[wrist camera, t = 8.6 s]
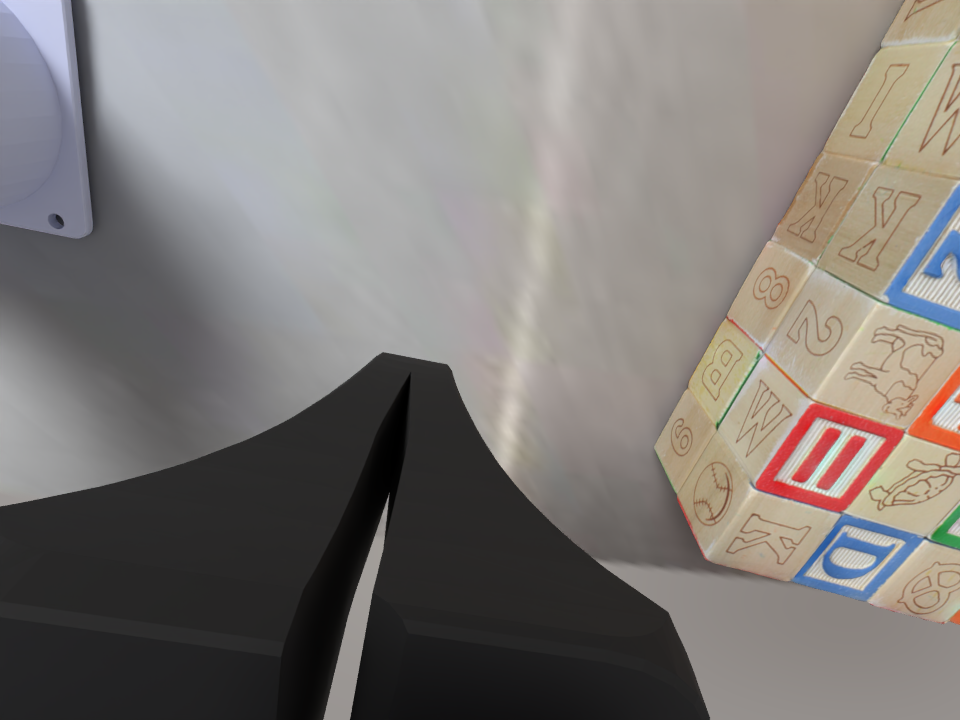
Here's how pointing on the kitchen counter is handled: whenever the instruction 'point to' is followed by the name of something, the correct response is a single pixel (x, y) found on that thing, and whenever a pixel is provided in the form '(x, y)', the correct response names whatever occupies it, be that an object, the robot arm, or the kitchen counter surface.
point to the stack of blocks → (846, 356)
